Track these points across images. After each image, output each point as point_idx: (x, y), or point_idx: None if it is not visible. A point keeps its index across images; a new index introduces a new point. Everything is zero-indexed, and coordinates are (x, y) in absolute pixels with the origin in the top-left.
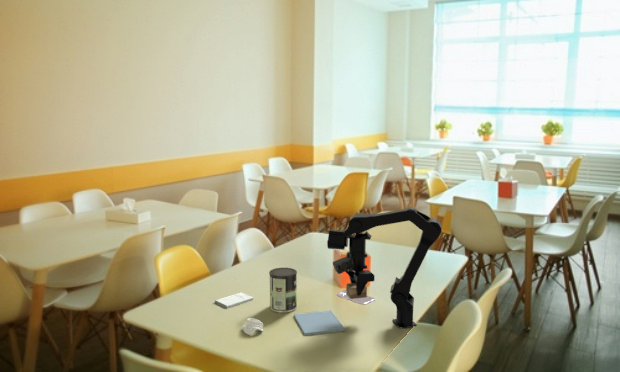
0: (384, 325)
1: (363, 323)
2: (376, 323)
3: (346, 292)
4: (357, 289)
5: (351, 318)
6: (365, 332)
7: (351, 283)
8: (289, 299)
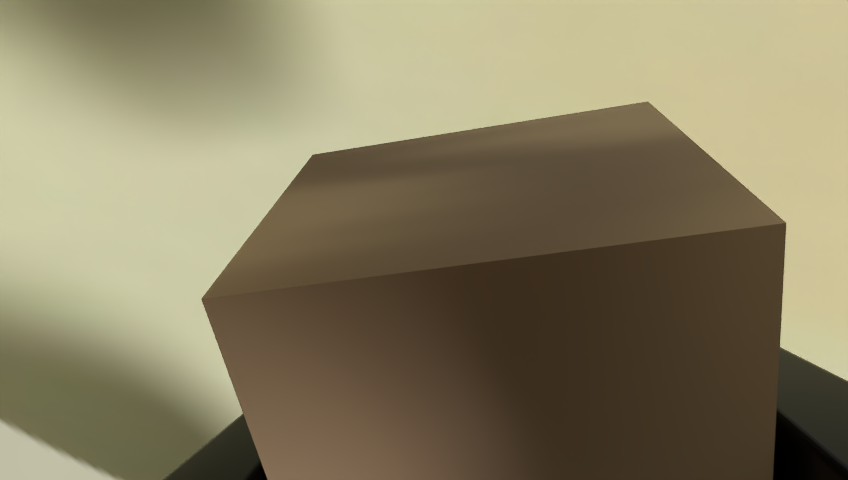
0: None
1: None
2: None
3: (652, 117)
4: (173, 476)
5: (518, 99)
6: (117, 191)
7: (742, 421)
8: None
